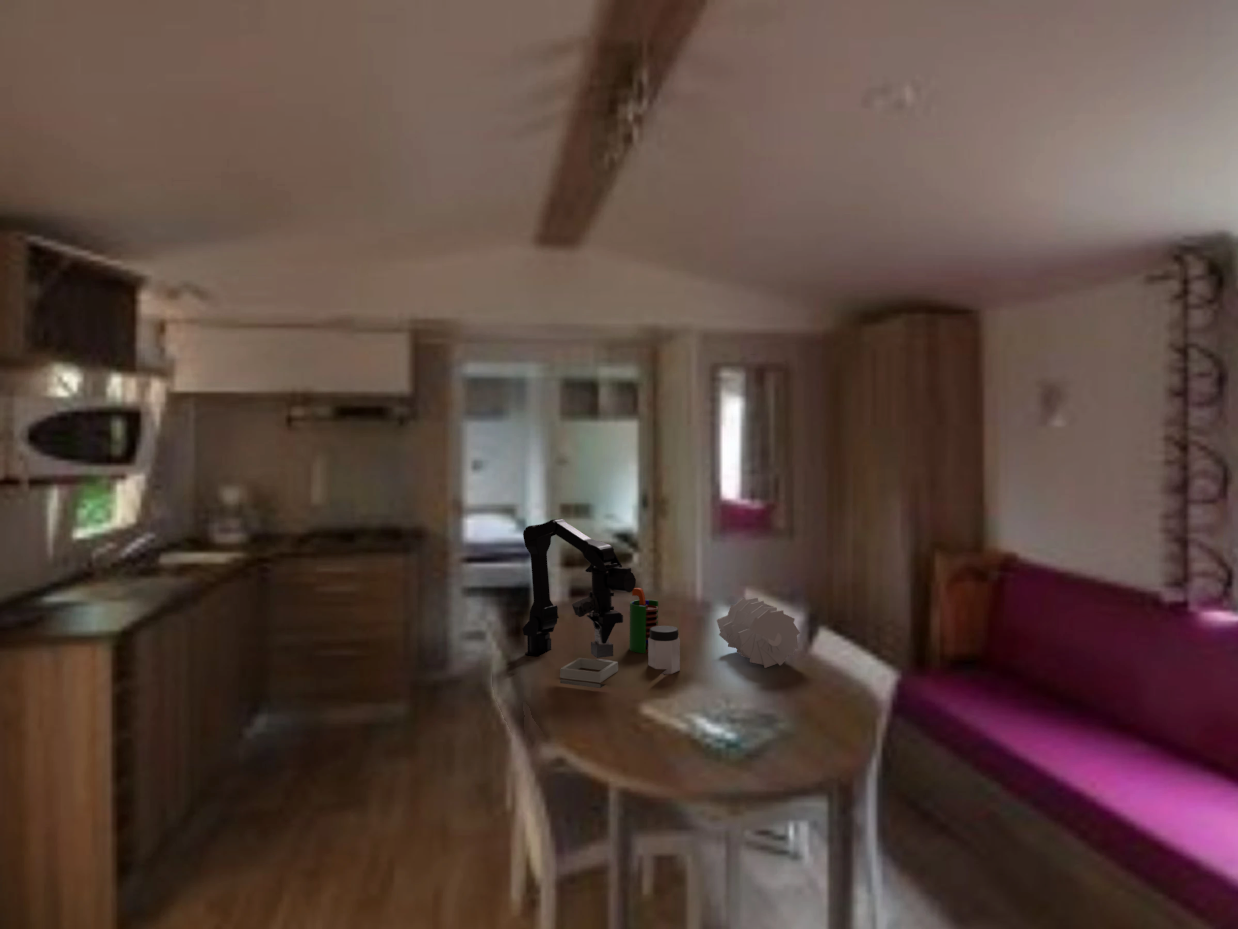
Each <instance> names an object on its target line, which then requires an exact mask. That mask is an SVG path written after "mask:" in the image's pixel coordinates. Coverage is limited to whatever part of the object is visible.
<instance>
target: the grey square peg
mask: <svg viewBox="0 0 1238 929" xmlns="http://www.w3.org/2000/svg"><path fill="white" fill-rule="evenodd" d="M590 654H591V655H592V656H593V657H595V658H596V659H602V658H610V657H614V643H613V642H611V641H610V637H609V638H608V640H607V642H606V643H604V644H603V643H602V639H601V632H600V627H599V628H594V641H590Z"/></svg>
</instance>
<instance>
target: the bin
mask: <svg viewBox="0 0 1238 929" xmlns="http://www.w3.org/2000/svg"><path fill="white" fill-rule="evenodd" d="M605 660H606V659H604V660H597V658H596V659H594V658H585V657H584V658H583V657H577V658H576V659H575V660H573V661H571V662H569V663H567V664H566V665H564V666H562V667H561V668H560V669H559V678H560V680H559V682H560V683H559V684H564V685H573V686H580V687H587V688H588V687H589V688H595V689H597V688H598V689H602V688H603V687H604V686H606V684H603V682H605V680H607V679H608V678H610V677H611V676H613V675H614V674H616V673H617V672H618V671H619V661H614V660H612V661H605ZM584 669H587V670H584ZM588 669H589V670H588ZM594 670H595V671H594ZM596 670H598V671H596Z"/></svg>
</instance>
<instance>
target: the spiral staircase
mask: <svg viewBox="0 0 1238 929" xmlns="http://www.w3.org/2000/svg"><path fill="white" fill-rule="evenodd" d="M795 620H796V618H794V617H792V616H790V615H788V614H785V613H784V610H782V609H781V610H778V607H777V606H774V605H770V604H767V603H765V602H764V600H759V597H751V598H747V599H746V598H745V597H742V598H741V599H740V600H738V601H737V602H736V603H735V604H734V605H733V604H731V605H730V607H729V611H728V612H727V615H725V616H722V617H720V618H716V623H717V626H718V628H719V634H718V636H719V637H721V639H723V640H724V641H725V642H726V643H728V645H727V647H728V648H732V649H736V653H738V654H740V657H743V658H749V663H753V664H757V665H761V666H762V665H763V667H764V669H767V668H769V667H772V666H774V665H777V664H778V666H780V667H781V666H782V665H783V664H784V662H785V661H786V660H787V658H789V656H790V657H794V654H795V651H796V650H797V649H799V643H798V635H800V634H801V632H800V630H799V629H798V627H797V625H795V623H794V622H795Z"/></svg>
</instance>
